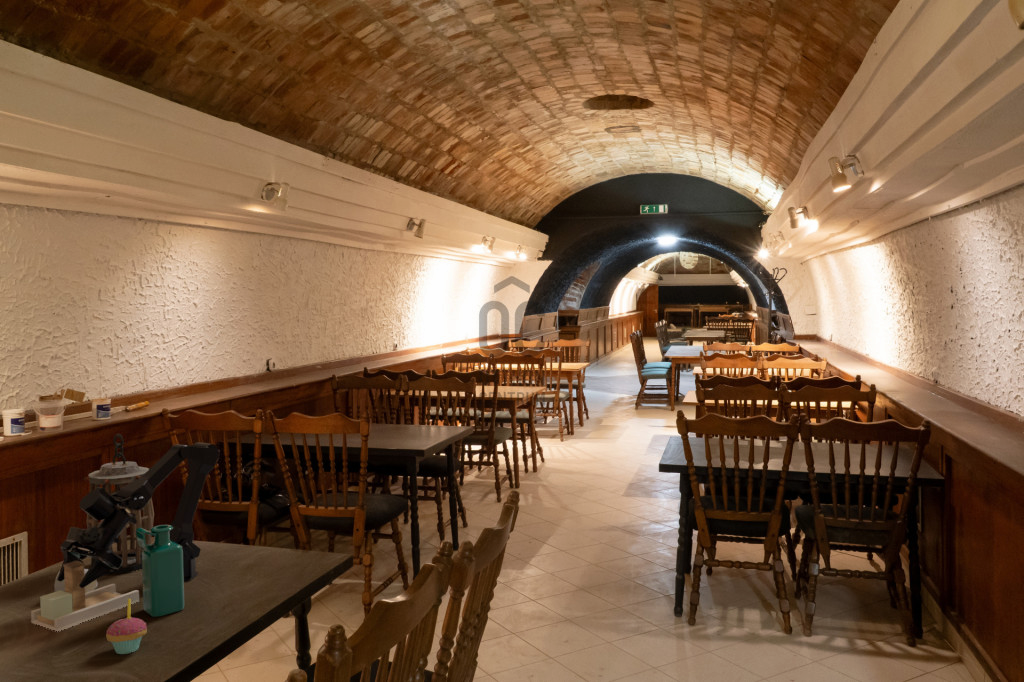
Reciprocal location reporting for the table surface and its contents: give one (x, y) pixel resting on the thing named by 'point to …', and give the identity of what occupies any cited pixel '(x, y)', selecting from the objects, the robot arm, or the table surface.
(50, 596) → the block
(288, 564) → the table surface
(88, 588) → the ceramic mug
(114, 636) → the cupcake
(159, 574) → the green bottle
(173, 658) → the table surface
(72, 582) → the wooden stair steps
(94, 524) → the lantern
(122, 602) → the lane board
